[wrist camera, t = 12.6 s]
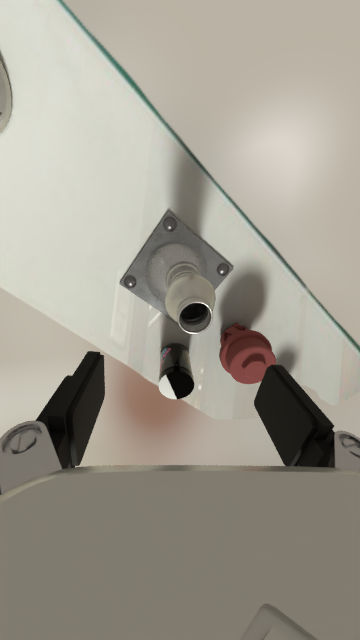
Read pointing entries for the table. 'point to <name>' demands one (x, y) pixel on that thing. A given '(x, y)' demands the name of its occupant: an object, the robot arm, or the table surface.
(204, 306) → the plastic bottle
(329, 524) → the robot arm
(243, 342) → the mechanical component
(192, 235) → the duct flange
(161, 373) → the supplement container
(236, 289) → the table surface
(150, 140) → the table surface
